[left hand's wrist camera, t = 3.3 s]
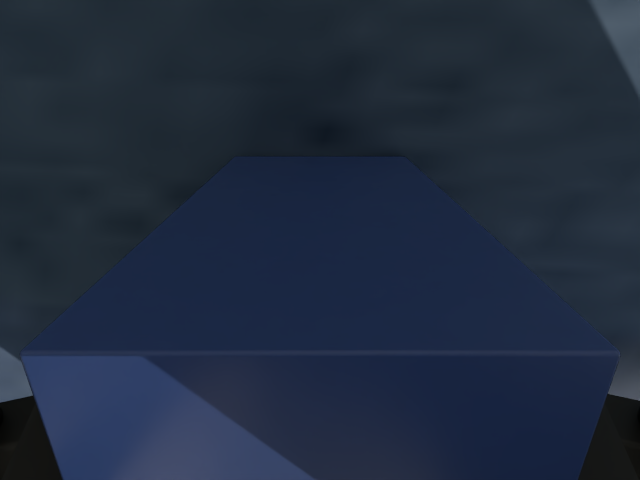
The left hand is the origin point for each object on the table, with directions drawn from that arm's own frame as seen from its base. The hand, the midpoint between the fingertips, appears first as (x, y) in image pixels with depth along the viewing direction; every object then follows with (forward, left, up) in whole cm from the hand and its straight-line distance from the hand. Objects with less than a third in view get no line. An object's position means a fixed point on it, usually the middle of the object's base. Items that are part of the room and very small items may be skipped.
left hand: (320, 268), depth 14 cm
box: (0, +7, -2) cm, 7 cm away
